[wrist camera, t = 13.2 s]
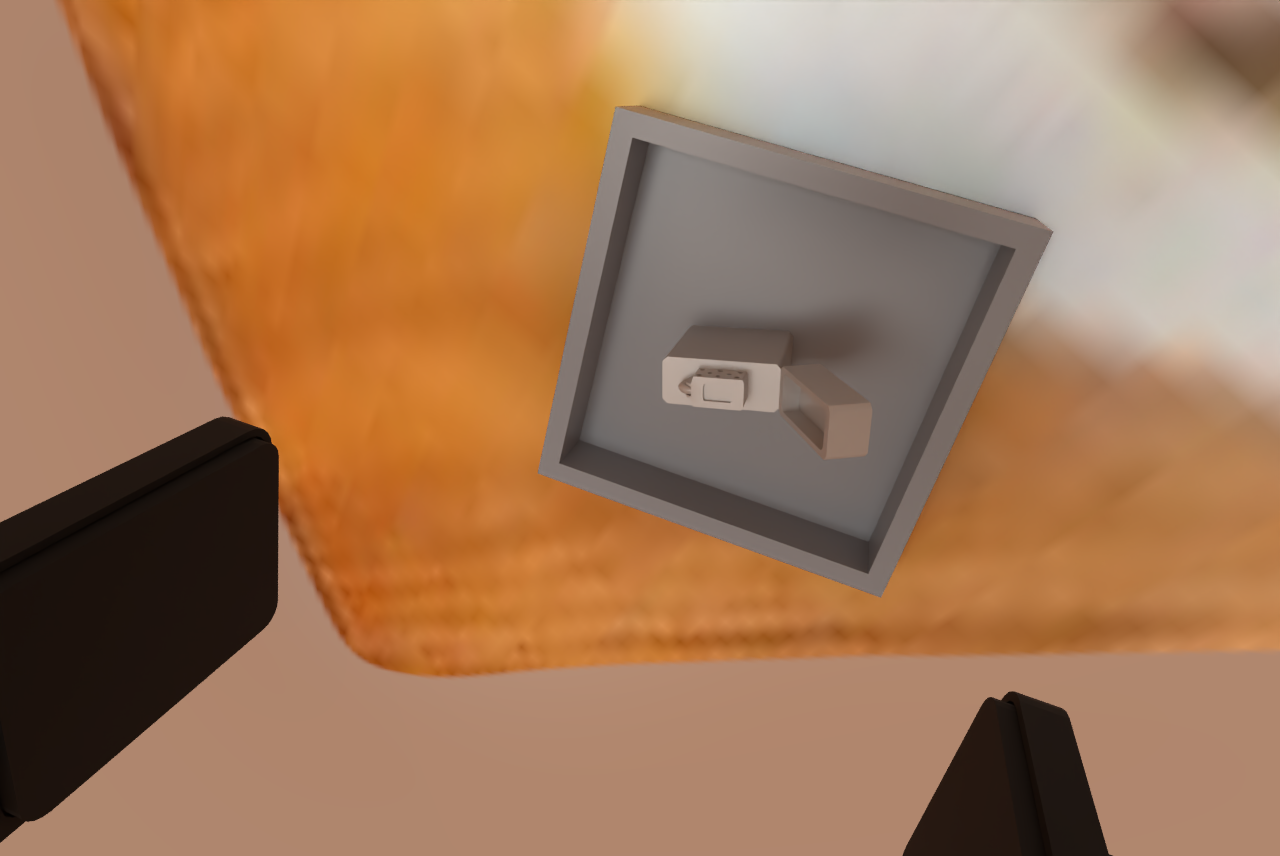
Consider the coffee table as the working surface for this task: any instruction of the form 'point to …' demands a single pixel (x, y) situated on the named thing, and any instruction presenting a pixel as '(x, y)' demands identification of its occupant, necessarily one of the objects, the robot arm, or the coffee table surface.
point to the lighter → (767, 386)
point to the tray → (784, 301)
